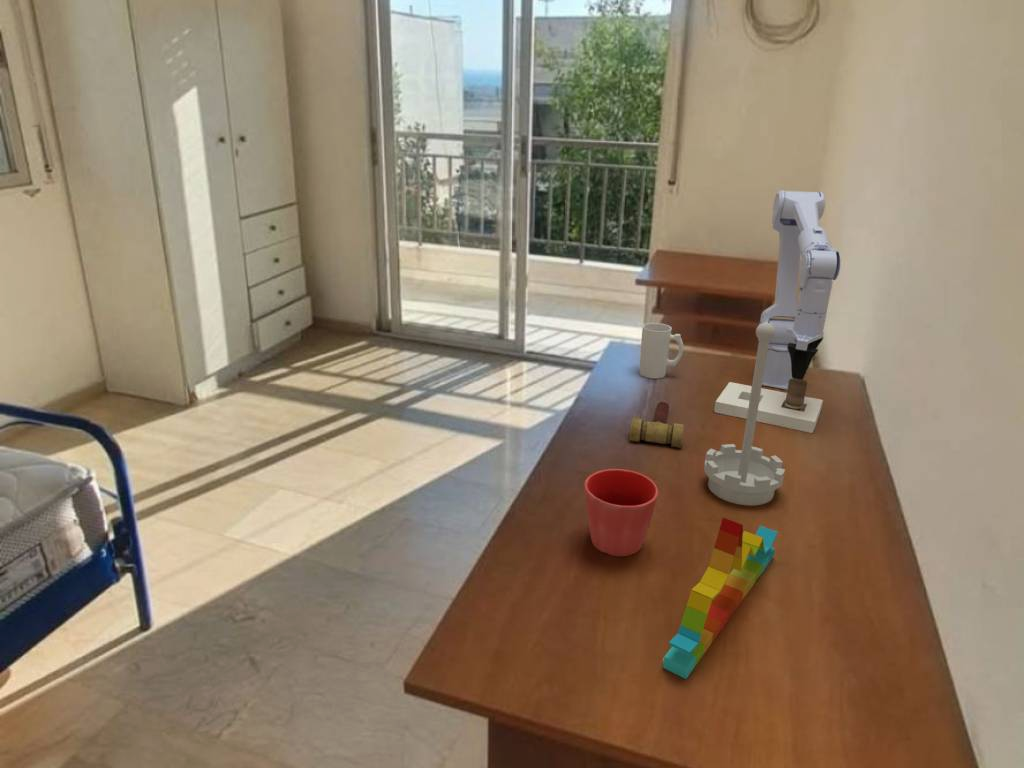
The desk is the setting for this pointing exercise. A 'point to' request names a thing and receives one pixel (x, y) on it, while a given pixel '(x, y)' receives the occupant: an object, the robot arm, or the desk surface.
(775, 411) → the board
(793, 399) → the peg
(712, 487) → the flag stand
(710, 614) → the chart
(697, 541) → the desk surface
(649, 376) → the mug
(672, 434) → the gavel
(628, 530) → the flower pot
